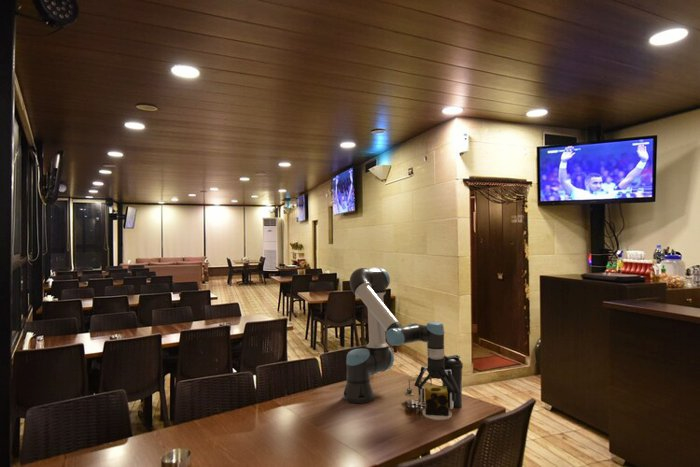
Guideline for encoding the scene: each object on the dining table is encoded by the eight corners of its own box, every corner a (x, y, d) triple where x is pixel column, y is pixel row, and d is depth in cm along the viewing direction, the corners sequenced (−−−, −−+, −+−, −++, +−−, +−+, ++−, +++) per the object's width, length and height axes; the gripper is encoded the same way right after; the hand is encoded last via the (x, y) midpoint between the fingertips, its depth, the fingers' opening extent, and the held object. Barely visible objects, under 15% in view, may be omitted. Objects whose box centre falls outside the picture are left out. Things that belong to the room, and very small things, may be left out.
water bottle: (466, 409, 192) (464, 358, 193) (443, 409, 192) (442, 358, 193) (460, 401, 202) (459, 353, 203) (439, 401, 202) (438, 353, 203)
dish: (418, 416, 184) (418, 413, 184) (428, 407, 195) (428, 404, 195) (446, 422, 177) (446, 419, 177) (455, 412, 188) (455, 409, 188)
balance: (402, 403, 200) (402, 374, 201) (406, 399, 205) (406, 371, 205) (434, 409, 192) (434, 378, 193) (438, 405, 196) (437, 376, 197)
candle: (448, 408, 190) (447, 385, 190) (449, 416, 180) (448, 393, 181) (425, 406, 192) (425, 384, 192) (425, 415, 182) (424, 392, 182)
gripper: (406, 355, 190) (407, 403, 189) (461, 362, 178) (462, 413, 177) (413, 352, 197) (413, 398, 196) (465, 358, 184) (467, 407, 183)
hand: (436, 405), depth 186 cm, fingers open, 13 cm apart
